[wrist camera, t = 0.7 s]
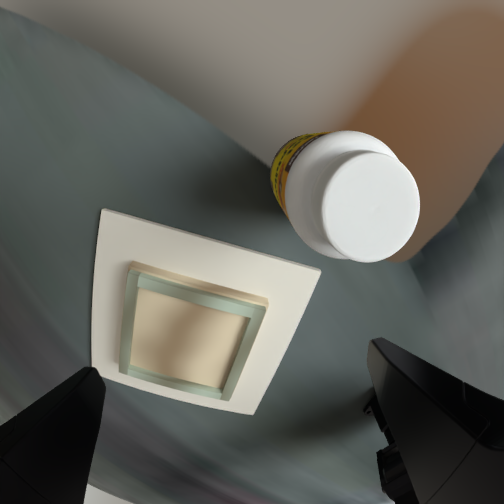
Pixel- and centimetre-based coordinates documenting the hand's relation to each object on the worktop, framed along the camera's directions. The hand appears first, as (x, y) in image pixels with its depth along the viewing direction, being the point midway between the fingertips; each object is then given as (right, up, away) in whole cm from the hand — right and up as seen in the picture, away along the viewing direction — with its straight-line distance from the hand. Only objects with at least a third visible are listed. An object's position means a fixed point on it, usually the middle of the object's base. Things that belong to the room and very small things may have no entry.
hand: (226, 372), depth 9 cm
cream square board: (-4, -3, +14) cm, 15 cm away
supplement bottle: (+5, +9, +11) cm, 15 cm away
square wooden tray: (-4, -3, +14) cm, 15 cm away
